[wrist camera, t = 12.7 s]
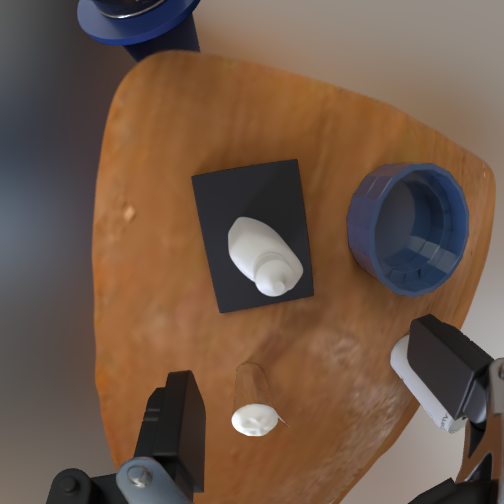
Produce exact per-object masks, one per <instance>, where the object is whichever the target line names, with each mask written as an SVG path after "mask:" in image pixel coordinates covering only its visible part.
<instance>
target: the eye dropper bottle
mask: <svg viewBox="0 0 504 504" xmlns="http://www.w3.org/2000/svg"><path fill="white" fill-rule="evenodd" d="M228 245H229V254H230V257H231V259H232V260H233V262H234V263H235V265H236V266H237V267H238V268H239V270H240V271H241V272H242V273H243V274H244V275H246V276H247V277H248V278H249V279H251V280H252V281H254V282H255V284H256V286H257V288H258V289H259V291H261V292H262V293H264V294H266V295H268V296H273V297H274V296H278V295H279V296H280V295H282V294H284V293H285V292H287V291H288V290H290V289H292V288H293V287H294V286H295V285H296V283H297V282H298V280H299V279H300V277H301V276H302V273H303V267H302V265H301V263H300V261H299V260H298V258H297V257H296V255H295V254H294V253H293V251H292V250H291V249H290V248H289V247H288V245H287V244H286V243H285V242H284V240H283V239H282V238H281V237H280V236H279V235H278V234H277V233H276V232H275V231H274V230H273V229H272V228H271V227H269V226H268V225H266V224H264V223H262V222H260V221H258V220H255V219H252V218H247V217H239V218H238V219H237V220H236V221H235V223H234V224H233V226H232V227H231V229H230V231H229V233H228Z"/></svg>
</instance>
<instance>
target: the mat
mask: <svg viewBox="0 0 504 504" xmlns="http://www.w3.org/2000/svg"><path fill="white" fill-rule="evenodd" d="M191 178H192V184H193V189H194V194H195V200H196V205H197V210H198V215H199V220H200V225H201V230H202V235H203V240H204V245H205V249H206V254H207V259H208V263H209V268H210V273H211V277H212V281H213V286H214V290H215V295H216V299H217V303H218V308H219V312H220V313H225V312H231V311H237V310H242V309H248V308H253V307H259V306H264V305H269V304H274V303H279V302H284V301H289V300H294V299H299V298H304V297H309V296H313V295H314V289H313V279H312V269H311V259H310V250H309V242H308V233H307V225H306V217H305V209H304V202H303V195H302V188H301V181H300V174H299V168H298V161H297V159H293V160H285V161H278V162H271V163H264V164H258V165H251V166H245V167H239V168H234V169H228V170H222V171H217V172H212V173H206V174H201V175H196V176H192V177H191ZM239 217H247V218H252V219H255V220H258V221H260V222H262V223H264V224H266V225H268V226H269V227H271V228H272V229H273V230H274V231H275V232H276V233H277V234H278V235H279V236H280V237H281V238H282V239H283V240H284V242H285V243H286V244H287V245H288V247H289V248H290V249H291V250H292V251H293V253H294V254H295V255H296V257H297V258H298V260H299V261H300V263H301V265H302V267H303V273H302V276H301V277H300V279H299V280H298V282H297V283H296V285H295V286H294V287H293V288H292V289H290V290H288V291H287V292H285V293H284V294H282V295H280V296H279V295H278V296H274V297H273V296H268V295H266V294H264V293H262V292H261V291H259V289H258V288H257V286H256V284H255V282H254V281H252V280H251V279H249V278H248V277H247V276H246V275H244V274H243V273H242V272H241V271H240V270H239V268H238V267H237V266H236V265H235V263H234V262H233V260H232V259H231V257H230V254H229V245H228V233H229V231H230V229H231V227H232V226H233V224H234V223H235V221H236V220H237V219H238V218H239Z"/></svg>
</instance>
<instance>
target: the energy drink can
mask: <svg viewBox="0 0 504 504" xmlns="http://www.w3.org/2000/svg"><path fill="white" fill-rule="evenodd" d="M408 342H409V335H406V336H404V337H403V338H401V339H400V340H399V341H398V342H397V343H396V344H395V346H394V348H393V350H392V352H391V366H392V368H393V369H394V370H395V371H396V373H397V374H398V375H399V377H400V378H401V379H402V380H403V382H404V383H405V384H406V386H407V387H408V388H409V389H410V391H411V392H412V393H413V395H414V396H415V397H416V398H417V400H418V401H419V402H420V404H421V405H422V406H423V408H424V409H425V410H426V412H427V413H428V414H429V416H430V417H431V418H432V420H433V421H434V422H435V424H436V425H437V426H438V427H439V428H442V429H446V430H448V432H449V433H455V432H458V431H459V430H461V429H462V428H464V427H465V426H466V421H467V419H468V417H467V416H466V415H464V416H463V417H461V418H459V419H458V420H456V421H454V419H453V418H452V417H451V416H450V414H449V413H448V412H447V411H446V409H445V408H444V407H443V406H442V404H441V403H440V402H439V401H438V400H437V398H436V397H435V396H434V395H433V394H432V392H431V391H430V390H429V389H428V387H427V386H426V385H425V384H424V383H423V382H422V380H421V379H420V378H419V377H418V376H417V374H416V373H415V372H414V371H413V370H412V369H411V367H410V365H409V363H408V360H407V349H408Z"/></svg>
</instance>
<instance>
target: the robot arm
mask: <svg viewBox="0 0 504 504" xmlns="http://www.w3.org/2000/svg"><path fill="white" fill-rule="evenodd" d="M91 1H92V2H93V3H94V4H95V6H96V8H97V9H98V11H99V12H100V13H101V14H102V15H103V16H105V17H107V18H110V19H116V20H124V19H131V18H135V17H139V16H142V15H144V14H147V13H149V12H151V11H153V10H155V9H156V8H158V7H159V6H161V5H162V4H164V3H165V2H166V1H167V0H91ZM407 360H408V363H409V365H410V367H411V369H412V370H413V371H414V372H415V373H416V374H417V376H418V377H419V378H420V379H421V380H422V382H423V383H424V384H425V385H426V386H427V387H428V389H429V390H430V391H431V392H432V394H433V395H434V396H435V397H436V398H437V400H438V401H439V402H440V403H441V404H442V406H443V407H444V408H445V409H446V411H447V412H448V413H449V414H450V416H451V417H452V418H453V419H454V421H456V420H458V419H459V418H461V417H463V416H464V415H466V416H467V417H468V419H467V421H466V427H465V442H464V452H463V460H462V465H461V469H460V471H459V473H458V476H457V478H456V481H455V483H454V481H453V480H452V478H449V479H447V480H445V481H444V482H442V483H440V484H438V485H437V486H435V487H433V488H431V489H429V490H427V491H425V492H424V493H422V494H420V495H418V496H417V497H416V498H415V499H414V500H412V501H411V502H409V503H408V504H504V358H498V359H496V360H494V359H493V358H492V357H491V356H490V355H488V354H487V353H486V352H485V351H484V350H483V349H481V348H480V347H479V346H478V345H476V344H475V343H474V342H473V341H470V339H469V338H468V337H467V336H466V335H463V333H462V332H461V331H459V330H458V329H457V328H456V327H454V326H451V325H449V324H446V323H444V322H443V323H442V322H441V321H439V320H438V319H437V318H436V317H434V316H433V315H431V314H428V315H426V316H423V317H420V318H417V319H414V320H413V321H412V322H411V326H410V334H409V342H408V349H407ZM143 420H144V421H142V425H141V429H140V433H139V437H138V441H137V445H136V449H135V454H134V457H133V458H132V459H129V460H128V461H126V462H124V463H123V464H122V465H121V466H120V468H119V469H118V471H117V473H115V474H110V475H105V476H99V477H93V478H90V477H89V476H88V475H87V474H86V473H85V472H83V471H82V470H79V469H75V468H71V469H66V470H63V471H61V472H60V473H59V474H57V476H56V477H55V478H54V480H53V482H52V485H51V489H50V492H49V495H48V499H47V502H46V504H194V503H193V493H200V492H204V461H205V427H206V412H205V406H204V402H203V399H202V397H201V394H200V391H199V389H198V386H197V383H196V381H195V378H194V375H193V373H192V371H191V370H187V371H178V372H170V373H169V374H168V377H167V381H166V386H165V387H162V388H156V390H155V391H154V392H153V393H152V395H151V396H150V397H149V399H148V402H147V406H146V412H145V414H144V418H143Z"/></svg>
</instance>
